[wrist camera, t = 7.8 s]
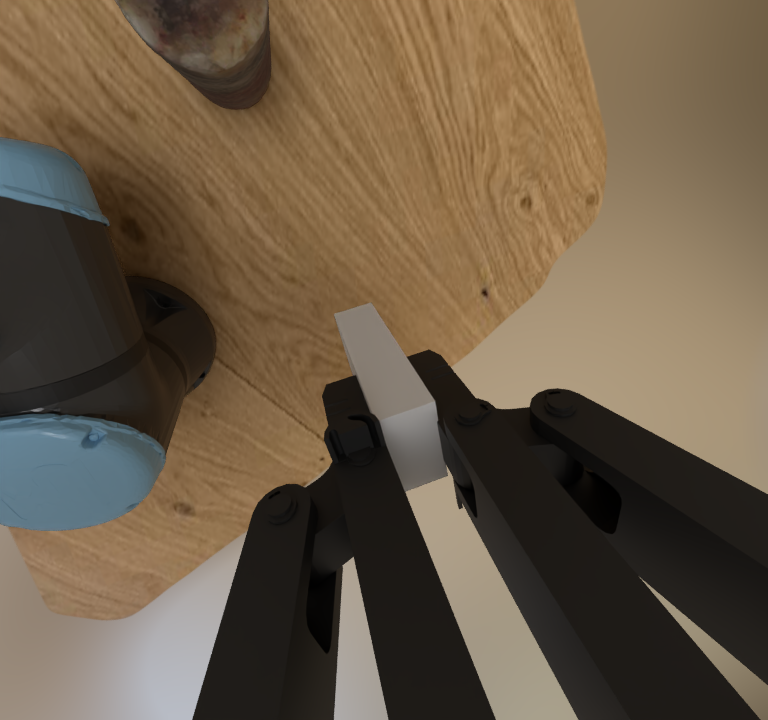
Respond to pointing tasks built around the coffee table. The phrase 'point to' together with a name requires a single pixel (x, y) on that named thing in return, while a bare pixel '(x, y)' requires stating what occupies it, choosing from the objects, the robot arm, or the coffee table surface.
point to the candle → (209, 44)
